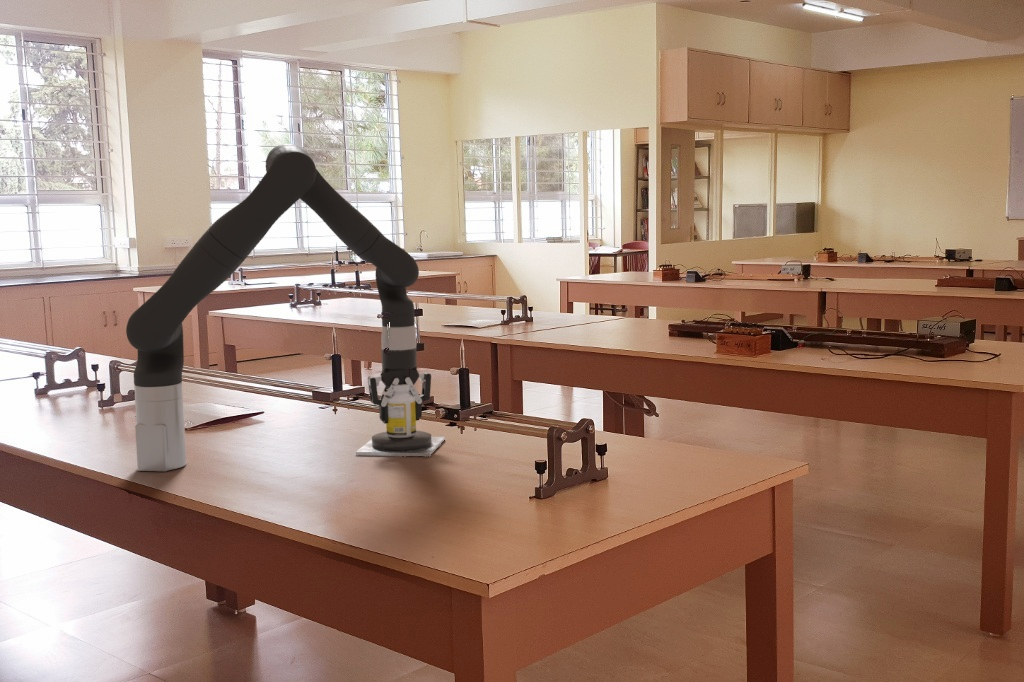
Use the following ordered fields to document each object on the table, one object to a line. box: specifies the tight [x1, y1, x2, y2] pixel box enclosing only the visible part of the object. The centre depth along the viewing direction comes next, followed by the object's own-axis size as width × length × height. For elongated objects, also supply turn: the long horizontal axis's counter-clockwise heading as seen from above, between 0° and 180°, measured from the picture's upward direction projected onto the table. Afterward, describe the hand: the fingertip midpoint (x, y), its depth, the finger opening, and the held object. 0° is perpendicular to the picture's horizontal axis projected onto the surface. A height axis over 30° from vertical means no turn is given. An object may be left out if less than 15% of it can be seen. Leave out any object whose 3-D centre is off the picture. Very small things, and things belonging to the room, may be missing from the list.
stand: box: [355, 430, 446, 458], centre depth 219 cm, size 16×16×2 cm
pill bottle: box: [385, 384, 417, 438], centre depth 218 cm, size 6×6×12 cm
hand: (400, 421), depth 219 cm, fingers closed on pill bottle, 6 cm apart
